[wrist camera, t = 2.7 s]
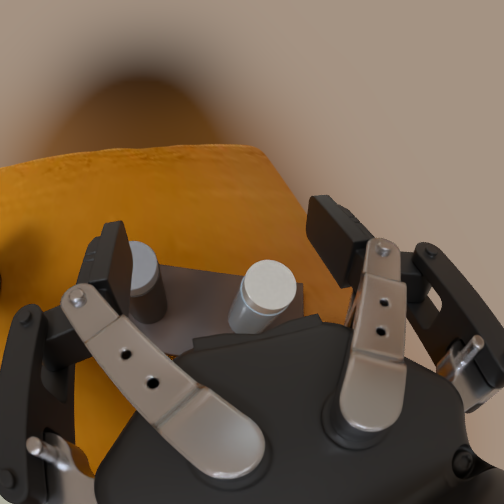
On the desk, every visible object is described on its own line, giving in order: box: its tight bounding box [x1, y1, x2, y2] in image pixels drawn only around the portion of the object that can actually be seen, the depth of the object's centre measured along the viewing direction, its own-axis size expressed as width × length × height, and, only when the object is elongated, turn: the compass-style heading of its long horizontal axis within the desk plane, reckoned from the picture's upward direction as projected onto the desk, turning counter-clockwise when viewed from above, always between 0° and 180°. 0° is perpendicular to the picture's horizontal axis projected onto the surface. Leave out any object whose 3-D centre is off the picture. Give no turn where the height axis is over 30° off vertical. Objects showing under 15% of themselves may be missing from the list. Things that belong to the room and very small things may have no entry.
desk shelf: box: [129, 264, 304, 357], centre depth 32 cm, size 24×10×5 cm, turn 87°
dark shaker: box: [129, 241, 168, 324], centre depth 25 cm, size 4×4×10 cm
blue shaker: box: [228, 260, 296, 334], centre depth 27 cm, size 4×4×10 cm
